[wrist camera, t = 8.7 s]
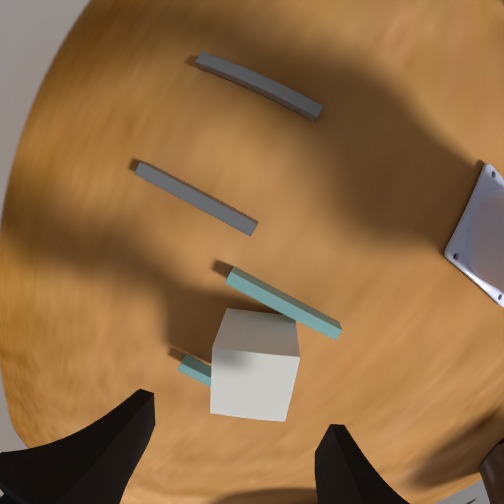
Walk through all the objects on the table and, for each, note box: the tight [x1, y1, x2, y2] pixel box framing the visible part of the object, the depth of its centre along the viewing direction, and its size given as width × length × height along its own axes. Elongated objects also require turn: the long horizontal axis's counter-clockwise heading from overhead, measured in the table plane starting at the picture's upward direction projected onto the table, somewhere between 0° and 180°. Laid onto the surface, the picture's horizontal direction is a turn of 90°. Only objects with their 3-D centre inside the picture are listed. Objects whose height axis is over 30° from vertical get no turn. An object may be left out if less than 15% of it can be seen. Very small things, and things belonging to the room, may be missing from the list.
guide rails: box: [135, 52, 343, 387], centre depth 17 cm, size 16×20×1 cm
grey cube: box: [210, 308, 300, 422], centre depth 17 cm, size 4×5×5 cm
